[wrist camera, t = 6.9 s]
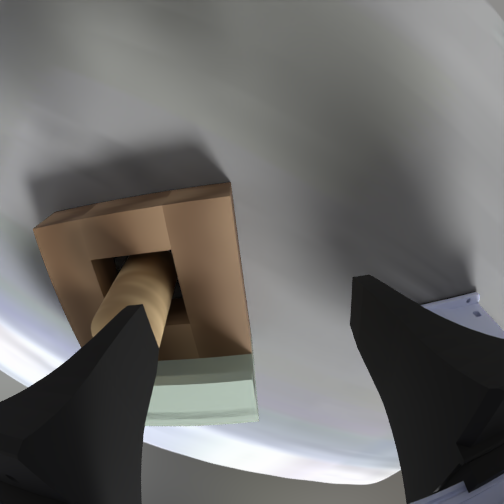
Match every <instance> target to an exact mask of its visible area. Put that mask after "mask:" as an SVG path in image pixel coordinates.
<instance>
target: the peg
mask: <svg viewBox="0 0 504 504" xmlns="http://www.w3.org/2000/svg"><path fill="white" fill-rule="evenodd" d="M177 278H178V276H177V271H176V267H175V263H174V259H173V255H172V254H171V253H170V252H169V251H167V250H166V251H158V252H150V253H142V254H134V255H129V257H128V259H127V260H126V262H125V264H124V265H123V267H122V269H121V270H120V272H119V274H118V275H117V277H116V279H115V281H114V282H113V284H112V286H111V287H110V289H109V291H108V293H107V295H106V296H105V298H104V300H103V302H102V303H101V305H100V307H99V309H98V311H97V313H96V314H95V316H94V318H93V320H92V323H91V333H92V336H93V337H94V336H95V335H96V334H97V333H98V332H99V331H100V330H101V329H102V328H103V327H104V326H105V325H106V324H107V323H108V322H110V321H111V320H112V319H113V318H114V317H115V316H116V315H117V314H118V313H119V312H120V311H121V310H122V309H124V308H125V307H126V306H128V305H139V304H143V306H144V308H145V311H146V314H147V317H148V320H149V322H150V325H151V328H152V331H153V333H154V336H155V339H156V341H157V344H158V346H159V347H160V343H161V339H162V335H163V331H164V327H165V323H166V319H167V315H168V312H169V308H170V304H171V300H172V297H173V293H174V289H175V286H176V282H177Z"/></svg>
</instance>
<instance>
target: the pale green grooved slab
mask: <svg viewBox="0 0 504 504" xmlns="http://www.w3.org/2000/svg"><path fill="white" fill-rule="evenodd" d="M250 334H251V330H250ZM251 346H252V337H251ZM258 421H259V415H258V404H257V393H256V381H255V370H254V358H253V347H252V354H243V355H234V356H223V357H211V358H198V359H183V360H165V361H158V366H157V374H156V379H155V383H154V387H153V391H152V396H151V400H150V404H149V408H148V413H147V417H146V422H145V426H203V425H222V424H236V423H248V422H258Z"/></svg>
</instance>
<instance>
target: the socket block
mask: <svg viewBox="0 0 504 504" xmlns="http://www.w3.org/2000/svg"><path fill="white" fill-rule="evenodd" d="M33 231H34V235H35V238H36V241H37V244H38V247H39V249H40V252H41V255H42V258H43V261H44V263H45V266H46V269H47V271H48V274H49V277H50V279H51V282H52V284H53V287H54V289H55V292H56V294H57V296H58V299H59V301H60V303H61V306H62V308H63V310H64V312H65V315H66V317H67V319H68V321H69V323H70V325H71V328H72V330H73V332H74V334H75V336H76V338H77V340H78V342H79V344H80V346H81V348H82V347H83V346H84V345H85V344H86V343H87V342H89V341H90V340H91V339H92V338H93V336H92V333H91V323H92V320H93V318H94V316H95V314H96V313H97V311H98V309H99V307H100V305H101V303H102V302H103V300H104V298H105V296H106V295H107V293H108V291H109V289H110V287H111V286H112V284H113V282H114V281H115V279H116V277H117V275H118V273H117V269H116V266H115V263H114V260H113V257H119V256H126V255H134V254H142V253H150V252H158V251H166V250H172V254H173V259H174V263H175V267H176V271H177V276H178V280H179V284H180V288H181V292H182V296H183V298H176V299H172V300H171V304H170V308H169V312H168V315H167V319H166V323H165V327H164V331H163V335H162V339H161V343H160V347H159V356H158V361H165V360H183V359H198V358H211V357H223V356H234V355H243V354H252V346H251V334H250V323H249V316H248V309H247V301H246V294H245V287H244V279H243V272H242V265H241V257H240V250H239V242H238V235H237V227H236V219H235V212H234V204H233V196H232V188H231V182H228V183H220V184H212V185H205V186H198V187H191V188H184V189H177V190H170V191H164V192H158V193H152V194H146V195H140V196H134V197H128V198H123V199H117V200H112V201H107V202H101V203H96V204H91V205H86V206H81V207H77V208H72V209H67V210H63V211H58V212H55V213H53V214H52V215H50V216H49V217H48V218H46V219H45V220H44V221H43V222H41V223H40V224H39V225H37V226H36V227H35V228H33Z"/></svg>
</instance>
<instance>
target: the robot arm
mask: <svg viewBox="0 0 504 504" xmlns="http://www.w3.org/2000/svg"><path fill="white" fill-rule="evenodd" d="M479 299H480V294H479V293H478V292H474V293H470V294H466V295H462V296H458V297H454V298H450V299H445V300H441V301H437V302H432V303H428V304H423V305H419V304H417V303H415V302H414V301H412V300H410V299H409V298H407V297H405V296H404V295H402V294H400V293H399V292H397V291H396V290H394V289H392V288H391V287H389V286H388V285H386V284H384V283H383V282H381V281H380V280H378V279H376V278H374V277H373V276H371V275H364V276H358V277H353V282H352V302H351V317H350V326H351V329H352V332H353V336H354V339H355V342H356V345H357V348H358V350H359V352H360V354H361V356H362V358H363V360H364V363H365V365H366V367H367V369H368V371H369V373H370V375H371V377H372V379H373V381H374V384H375V386H376V388H377V390H378V392H379V394H380V396H381V399H382V401H383V404H384V407H385V410H386V413H387V416H388V419H389V423H390V426H391V429H392V433H393V437H394V441H395V444H396V448H397V452H398V457H399V461H400V466H401V471H402V476H403V482H404V488H405V495H406V502H407V504H504V331H503V330H502V328H501V327H500V326H499V325H498V324H497V323H496V322H495V321H494V320H493V318H492V317H491V316H490V315H489V314H488V313H487V312H486V311H485V310H484V309H483V308H482V307H481V306H480V305H479V304H478V302H479ZM158 356H159V346H158V344H157V341H156V339H155V336H154V333H153V331H152V328H151V325H150V322H149V320H148V317H147V314H146V311H145V308H144V306H143V304H139V305H128V306H126V307H125V308H124V309H122V310H121V311H120V312H119V313H118V314H117V315H116V316H115V317H114V318H113V319H112V320H111V321H110V322H108V323H107V324H106V325H105V326H104V327H103V328H102V329H101V330H100V331H99V332H98V333H97V334H96V335H95V336H94V337H93V338H92V339H91V340H90V341H89V342H87V343H86V344H85V345H84V346H83V347H82V348H81V349H80V350H79V351H77V352H76V353H75V354H74V355H73V356H72V357H71V358H70V359H68V360H67V361H66V362H65V363H63V364H62V365H61V366H59V367H58V368H57V369H55V370H54V371H53V372H51V373H50V374H49V375H47V376H46V377H44V378H43V379H41V380H39V381H38V382H36V383H35V384H33V385H31V386H30V387H28V388H27V389H25V390H23V391H21V392H20V393H18V394H16V395H14V396H12V397H10V398H8V399H6V400H4V401H1V402H0V504H142V503H141V458H142V444H143V433H144V427H145V422H146V417H147V413H148V408H149V404H150V400H151V396H152V391H153V387H154V383H155V379H156V374H157V366H158Z"/></svg>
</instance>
